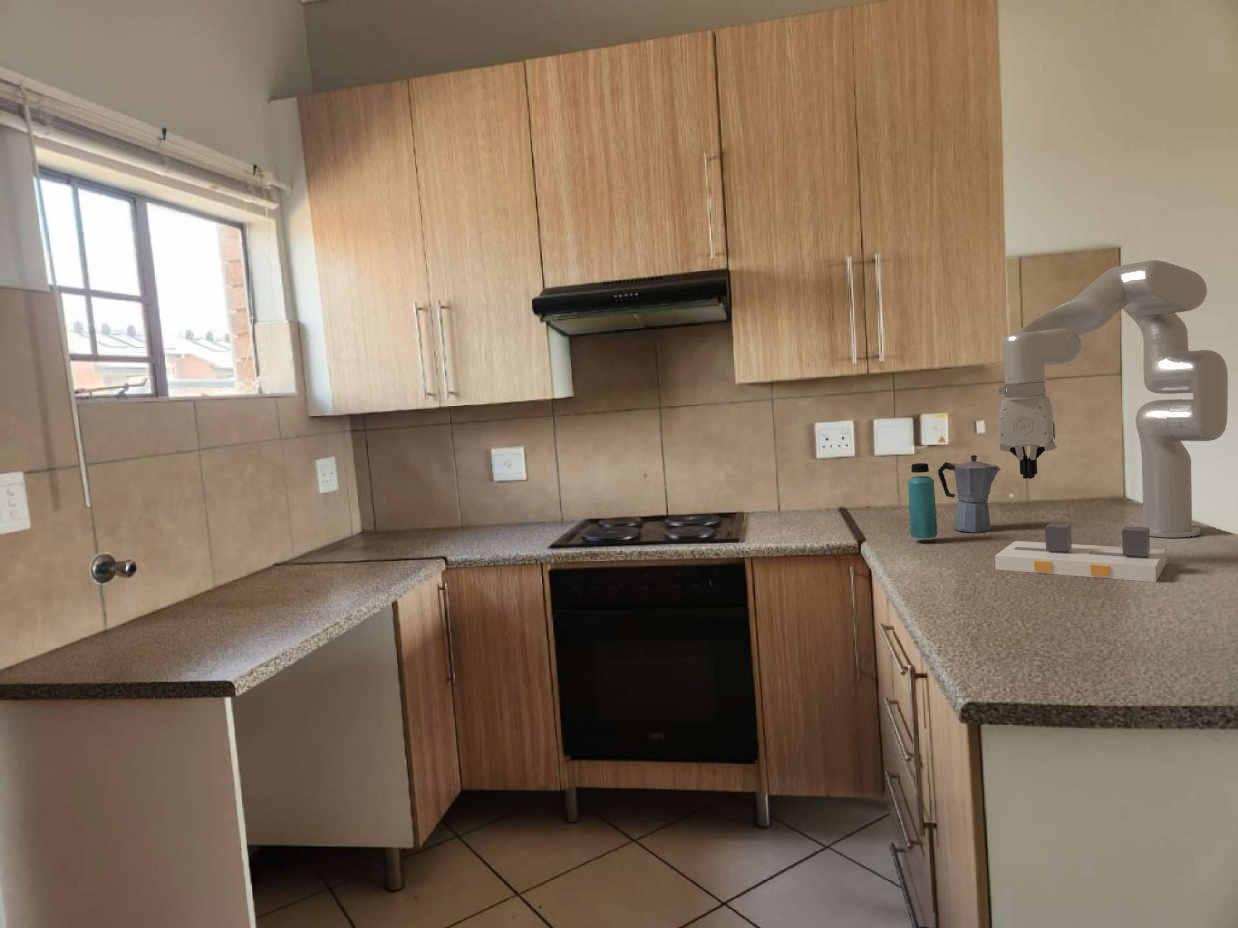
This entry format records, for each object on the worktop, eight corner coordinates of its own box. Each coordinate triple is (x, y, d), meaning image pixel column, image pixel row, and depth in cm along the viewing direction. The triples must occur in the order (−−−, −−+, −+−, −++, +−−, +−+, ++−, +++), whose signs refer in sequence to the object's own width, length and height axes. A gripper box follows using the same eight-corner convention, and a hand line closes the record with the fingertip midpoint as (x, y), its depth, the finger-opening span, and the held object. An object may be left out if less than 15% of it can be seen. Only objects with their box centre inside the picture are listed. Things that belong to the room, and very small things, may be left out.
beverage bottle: (940, 543, 192) (936, 463, 191) (912, 544, 194) (908, 465, 192) (935, 538, 199) (931, 461, 197) (907, 539, 200) (904, 462, 198)
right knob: (1125, 550, 157) (1125, 526, 156) (1149, 552, 154) (1149, 527, 154) (1122, 554, 154) (1122, 530, 153) (1146, 556, 151) (1146, 531, 151)
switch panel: (1015, 553, 176) (1015, 540, 176) (1166, 563, 158) (1165, 548, 157) (995, 569, 164) (994, 554, 164) (1155, 582, 145) (1155, 565, 145)
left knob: (1050, 546, 166) (1049, 523, 165) (1071, 547, 163) (1071, 524, 163) (1045, 550, 163) (1045, 526, 162) (1067, 551, 160) (1066, 527, 160)
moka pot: (1001, 534, 198) (998, 456, 196) (936, 532, 206) (933, 457, 204) (1005, 527, 206) (1002, 452, 204) (943, 526, 214) (939, 454, 212)
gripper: (982, 395, 166) (986, 480, 167) (1061, 390, 156) (1064, 480, 158) (992, 393, 171) (996, 475, 173) (1069, 388, 162) (1072, 475, 163)
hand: (1028, 477), depth 165 cm, fingers closed
